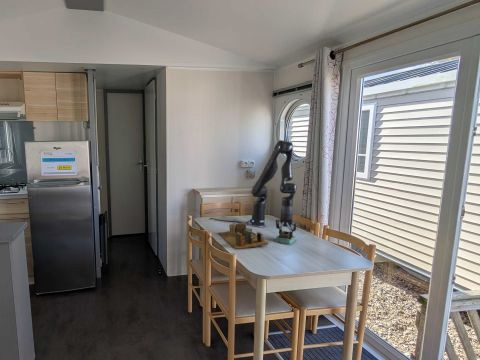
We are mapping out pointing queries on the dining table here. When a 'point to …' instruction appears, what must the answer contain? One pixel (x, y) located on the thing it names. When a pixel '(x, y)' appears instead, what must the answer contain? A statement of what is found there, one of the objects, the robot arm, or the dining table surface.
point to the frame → (284, 235)
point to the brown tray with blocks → (242, 236)
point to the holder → (285, 240)
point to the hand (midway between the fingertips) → (285, 235)
